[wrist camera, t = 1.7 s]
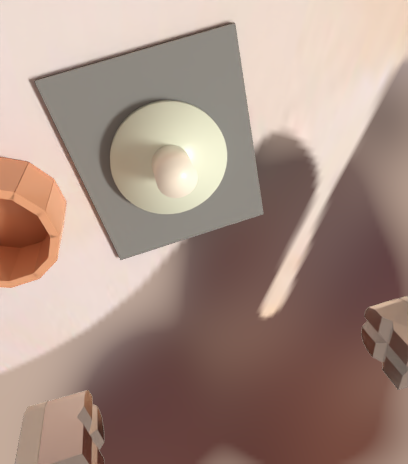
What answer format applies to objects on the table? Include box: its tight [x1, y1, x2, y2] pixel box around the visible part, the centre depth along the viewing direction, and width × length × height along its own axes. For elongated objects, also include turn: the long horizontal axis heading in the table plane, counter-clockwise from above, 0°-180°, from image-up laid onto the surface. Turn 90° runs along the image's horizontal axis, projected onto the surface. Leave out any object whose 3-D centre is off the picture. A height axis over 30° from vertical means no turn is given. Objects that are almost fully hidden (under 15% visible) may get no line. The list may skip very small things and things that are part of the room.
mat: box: [34, 23, 263, 260], centre depth 29 cm, size 14×16×1 cm
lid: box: [110, 100, 227, 214], centre depth 27 cm, size 9×9×4 cm
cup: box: [0, 157, 66, 288], centre depth 26 cm, size 8×8×5 cm
